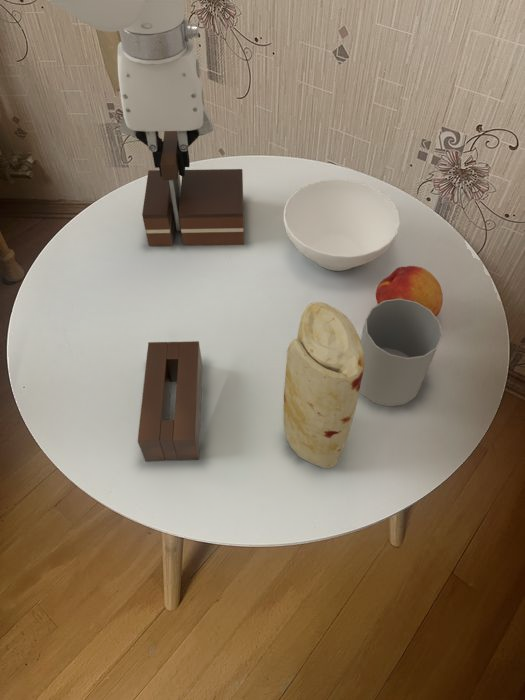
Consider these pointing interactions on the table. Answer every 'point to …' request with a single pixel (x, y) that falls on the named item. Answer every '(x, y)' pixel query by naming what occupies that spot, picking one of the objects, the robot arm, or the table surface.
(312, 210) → the bowl
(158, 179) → the cake slice
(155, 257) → the table surface
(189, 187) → the cake
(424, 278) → the fruit
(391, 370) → the cup
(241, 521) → the table surface
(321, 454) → the food model
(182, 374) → the knife block
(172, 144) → the knife
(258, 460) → the table surface
